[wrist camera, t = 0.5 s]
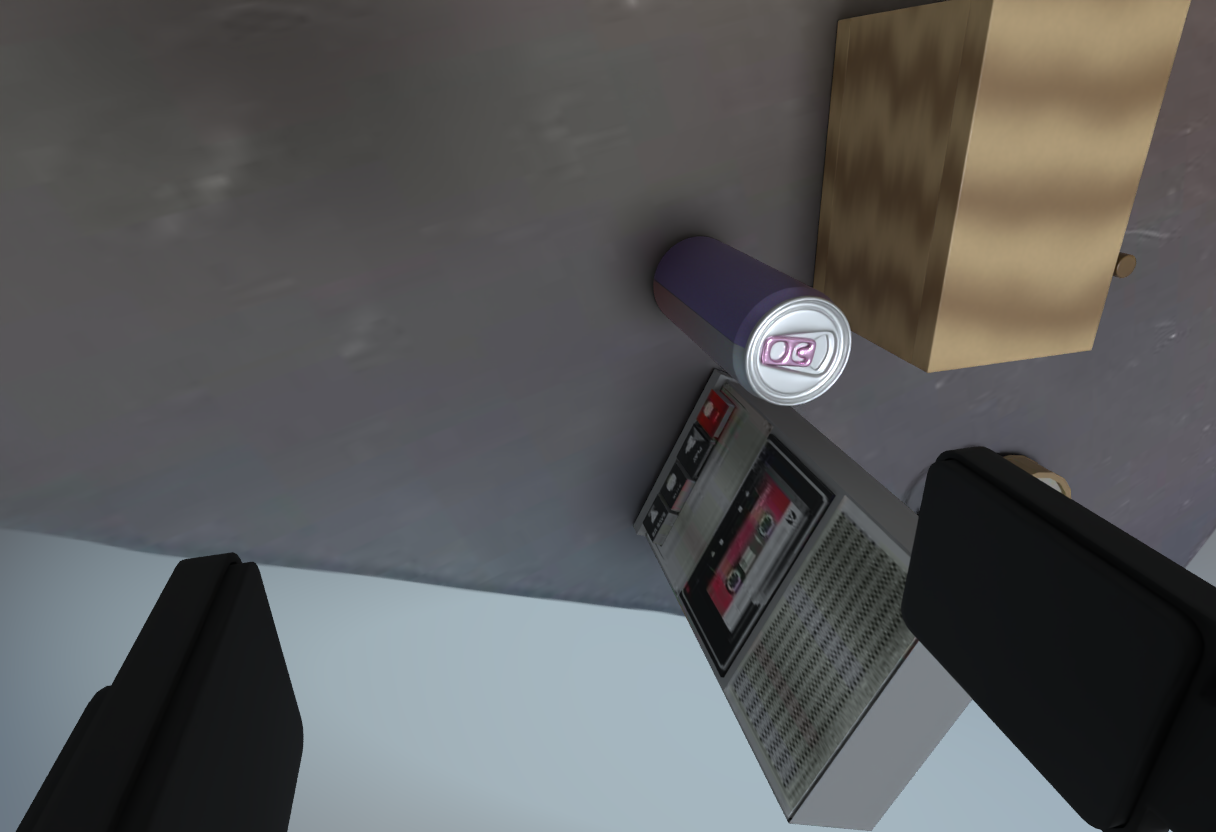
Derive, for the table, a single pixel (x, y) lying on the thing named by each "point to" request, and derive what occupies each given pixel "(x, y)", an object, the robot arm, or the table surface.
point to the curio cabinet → (987, 171)
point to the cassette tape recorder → (800, 605)
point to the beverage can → (754, 320)
